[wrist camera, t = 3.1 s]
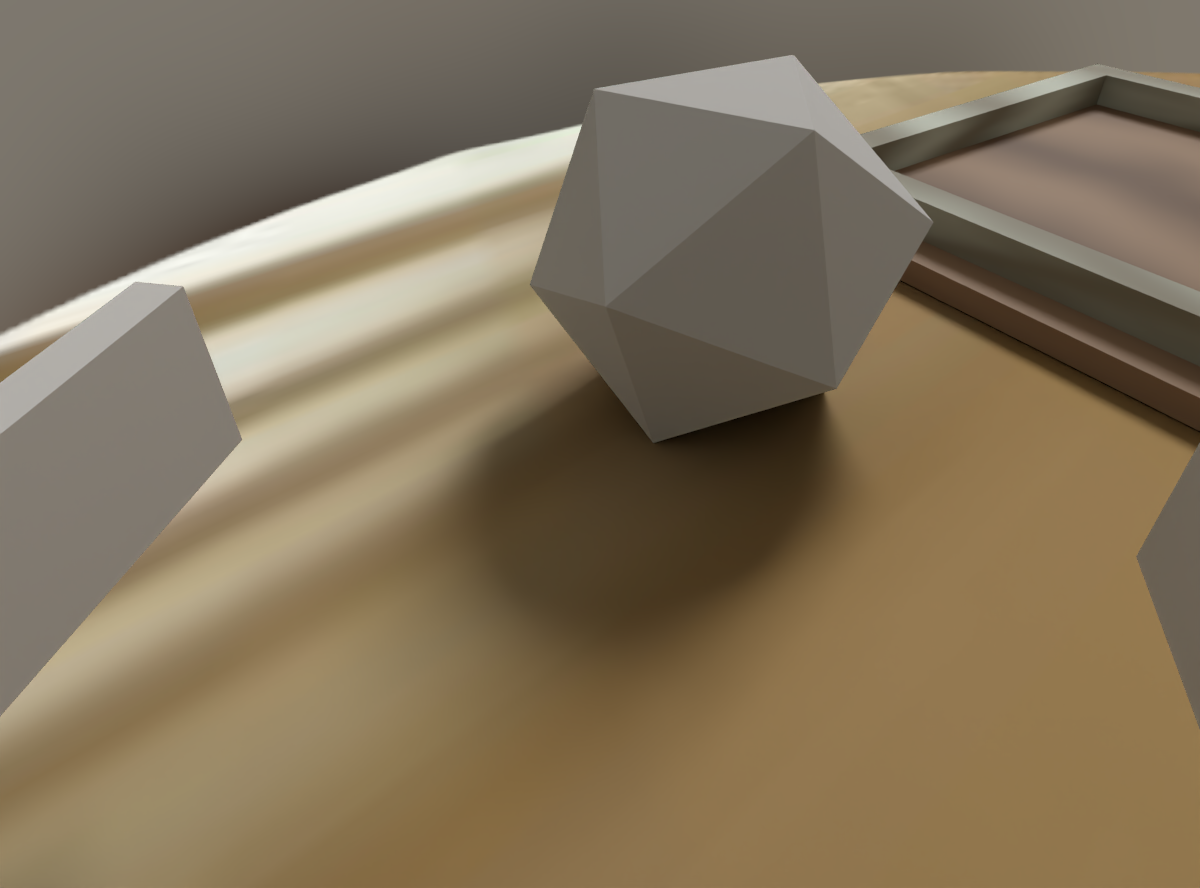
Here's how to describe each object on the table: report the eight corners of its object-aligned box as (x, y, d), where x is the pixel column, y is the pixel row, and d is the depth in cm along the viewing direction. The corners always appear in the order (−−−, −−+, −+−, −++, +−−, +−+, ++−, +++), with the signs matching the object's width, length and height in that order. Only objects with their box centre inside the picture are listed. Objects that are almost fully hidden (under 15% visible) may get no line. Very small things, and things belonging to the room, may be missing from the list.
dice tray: (1345, 504, 18) (1397, 433, 17) (745, 202, 31) (749, 149, 30) (1657, 255, 26) (1709, 193, 25) (1073, 97, 39) (1087, 52, 38)
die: (891, 536, 19) (1062, 114, 18) (550, 441, 15) (736, -102, 14) (712, 443, 26) (824, 141, 25) (453, 364, 22) (569, 5, 21)
